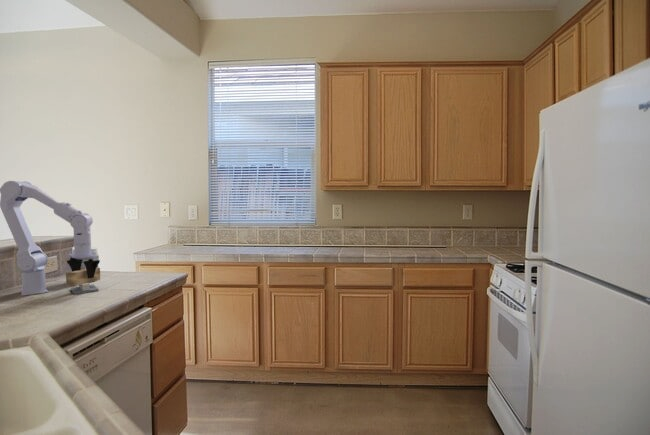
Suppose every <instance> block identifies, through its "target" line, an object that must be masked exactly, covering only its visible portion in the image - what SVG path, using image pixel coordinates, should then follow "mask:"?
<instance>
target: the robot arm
mask: <svg viewBox="0 0 650 435" xmlns="http://www.w3.org/2000/svg"><path fill="white" fill-rule="evenodd" d="M28 199H34V200H35V201H38V202H39V203H42V204H43V205H45V206H47V207H48V208H51V209H53V214H55V215H56V216H57V217H60V218H61V219H63V220H64V221H65V222H67V223H69V224H70V226H71V227H72V228H73V247H74V248H73V249H74V254H73V253H68V254H67V259H68V260H66V263H67V264H68V265H69V267H70V269H71V272H73V271H78V270H81V264H82V261H83V260H88V261H84V262H83V263H84V264H85V267H86V270H87V277H88V278H94V275H95V271H96V268H97V266H98V267H99V264H100V263H101V262H100V261H101V260H100V258H99V256H100V255H99V254H98V255H94V254H91V247H92V236H91V235H92V234H91V233H92V232H91V226H92V224H93V222H94V221H93V218H92V216H91V215H90V214H88V213H85V212H84V213H83V211H82V210H78V209H77V208H75V207H74V206H72V203H70V202H65V201H62V202H59V201H58V200H56V199H55V198H54V197H52V196H50V195H49V194H47V193H46V192H45V191H43V190H42V189H40V188H39V187H38V186H36V185H34V184H32V183H30V182H28V181H15V180H8V181H6V182H4V183H3V184H2V185H1V187H0V209H1V212H2V214H3V217H4V219H5V221H6V223H7V226H8V228H9V230H10V233H11V235H12V237H13V240H14V242H15V244H16V247H17V249H18V250H17V252H16V255H15V256H16V260H17V262H16V266H17V267H18V269H19V270H20V271H21V281H22V282H21V284H22V285H21V287H22V289H21V290H20V292H21V296H23V297H24V296H31V295H38V294H45V293H48V292H49V290H48V289H47V287H46V286H47V285H46V270H45V269H46V267H45V266H46V265H47V264H48V261H49V258H48V255H47V254H46V253H45V252H44V251H43V250H42V248H41V247H40V246H38V244H36V242H35V241H34V240H35V239H34V238H33V236H32V233H31V231H30V228H29V226H28V223H27V222H26V219H25V217H24V215H23V212H22V210H21V206H22V204H23V202H25V201H26V200H28Z"/></svg>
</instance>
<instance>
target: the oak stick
mask: <svg viewBox="0 0 650 435" xmlns="http://www.w3.org/2000/svg"><path fill="white" fill-rule="evenodd" d="M96 281H101V267H98V268H96V271H95V275H94V278H88V277H87V270H86V269H83V270H78V271H73V272H72V271H69V272H65V283H66V286H67V287H77V286H79V285H80V284H84V283H92V282H96Z"/></svg>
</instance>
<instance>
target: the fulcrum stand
mask: <svg viewBox="0 0 650 435" xmlns="http://www.w3.org/2000/svg"><path fill="white" fill-rule="evenodd" d="M70 291H71V292H72V293H73V295H79V294H86V293H87V294H88V293H93V292H94V293H95V292H98V291H99V288H98V286H96V285H95V284H90V282H88V283H84V284H80V285H78V286H71V287H70Z"/></svg>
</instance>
